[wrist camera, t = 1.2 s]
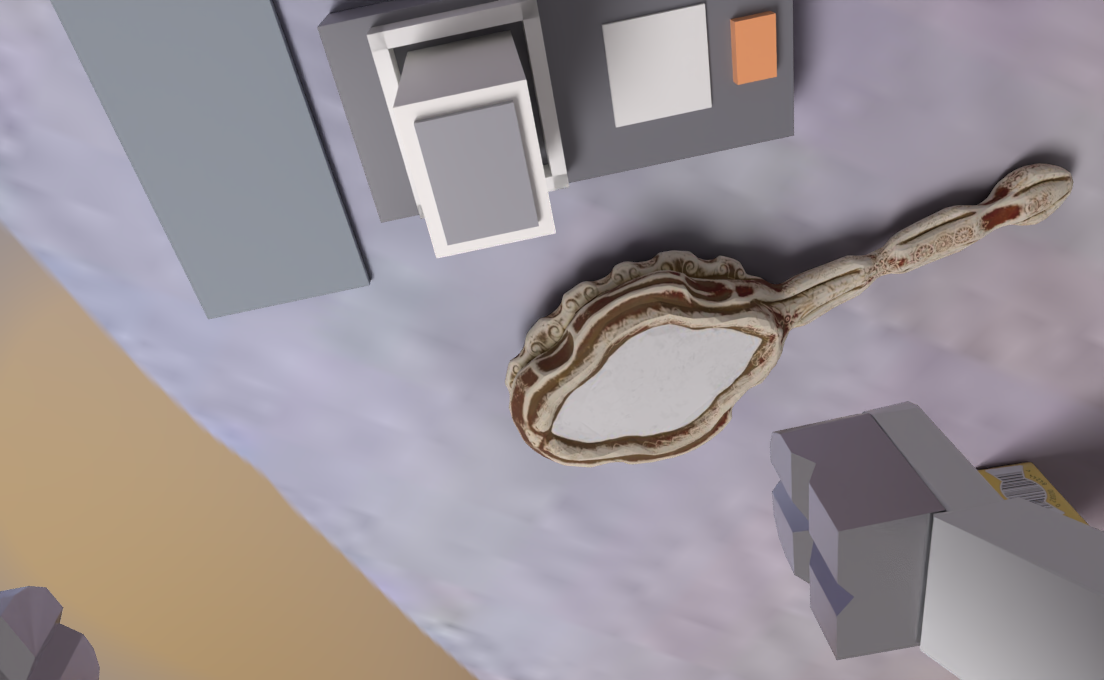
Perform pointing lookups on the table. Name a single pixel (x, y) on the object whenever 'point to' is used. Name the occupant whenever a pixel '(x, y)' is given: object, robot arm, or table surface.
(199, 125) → the slate mat
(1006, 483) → the candy box
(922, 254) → the hand mirror
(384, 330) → the table surface
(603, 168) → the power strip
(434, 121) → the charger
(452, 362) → the table surface
